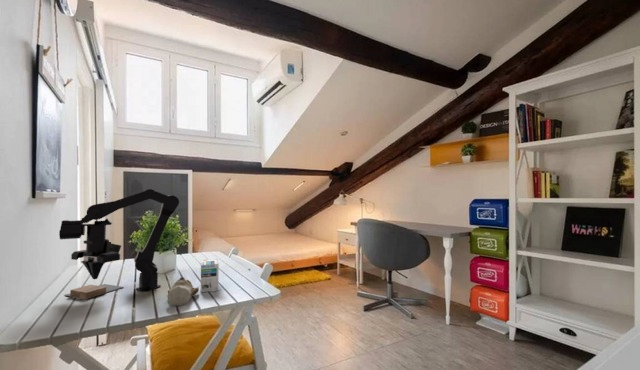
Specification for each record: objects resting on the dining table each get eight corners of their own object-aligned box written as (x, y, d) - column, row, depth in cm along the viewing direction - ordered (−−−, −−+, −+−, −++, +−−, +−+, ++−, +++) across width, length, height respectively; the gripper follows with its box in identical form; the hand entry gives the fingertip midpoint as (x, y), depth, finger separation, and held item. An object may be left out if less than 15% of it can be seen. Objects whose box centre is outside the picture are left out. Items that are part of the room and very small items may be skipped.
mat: (123, 287, 119) (123, 286, 119) (84, 299, 105) (84, 298, 105) (104, 284, 123) (104, 283, 123) (64, 296, 109) (64, 294, 109)
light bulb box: (218, 290, 115) (218, 263, 116) (200, 293, 113) (200, 265, 113) (217, 283, 125) (217, 258, 125) (200, 285, 123) (201, 259, 123)
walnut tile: (106, 287, 112) (90, 284, 115) (86, 292, 105) (70, 289, 108) (106, 292, 112) (90, 290, 115) (86, 298, 105) (70, 295, 108)
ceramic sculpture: (160, 282, 96) (170, 274, 111) (159, 309, 96) (169, 297, 110) (195, 280, 99) (200, 272, 114) (194, 306, 98) (199, 295, 113)
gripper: (134, 235, 114) (133, 275, 113) (101, 233, 120) (100, 271, 120) (104, 239, 103) (103, 283, 103) (71, 237, 110) (69, 278, 109)
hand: (95, 278), depth 109 cm, fingers closed
